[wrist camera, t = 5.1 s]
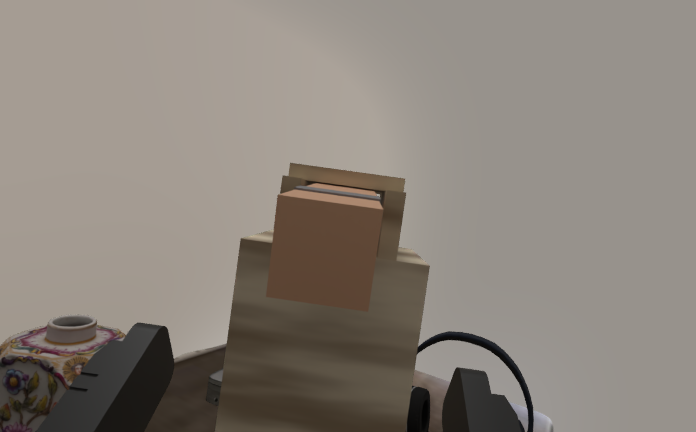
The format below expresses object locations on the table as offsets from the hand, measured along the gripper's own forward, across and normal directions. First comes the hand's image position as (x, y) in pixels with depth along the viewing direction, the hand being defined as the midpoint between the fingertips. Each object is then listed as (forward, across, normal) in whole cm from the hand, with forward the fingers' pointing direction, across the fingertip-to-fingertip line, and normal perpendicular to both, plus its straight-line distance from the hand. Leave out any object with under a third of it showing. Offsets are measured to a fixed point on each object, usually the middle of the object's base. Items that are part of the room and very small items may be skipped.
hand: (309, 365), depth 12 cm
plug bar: (+10, 0, -5) cm, 12 cm away
